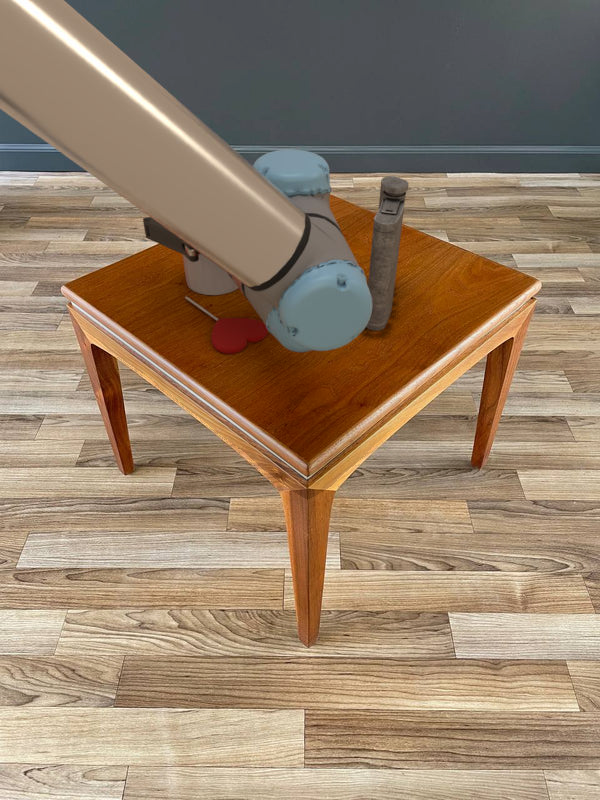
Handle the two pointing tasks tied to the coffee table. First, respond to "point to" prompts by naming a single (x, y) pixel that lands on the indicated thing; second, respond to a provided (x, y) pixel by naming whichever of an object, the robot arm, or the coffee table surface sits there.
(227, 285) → the canister
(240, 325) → the lollipop
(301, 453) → the coffee table surface
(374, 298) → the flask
